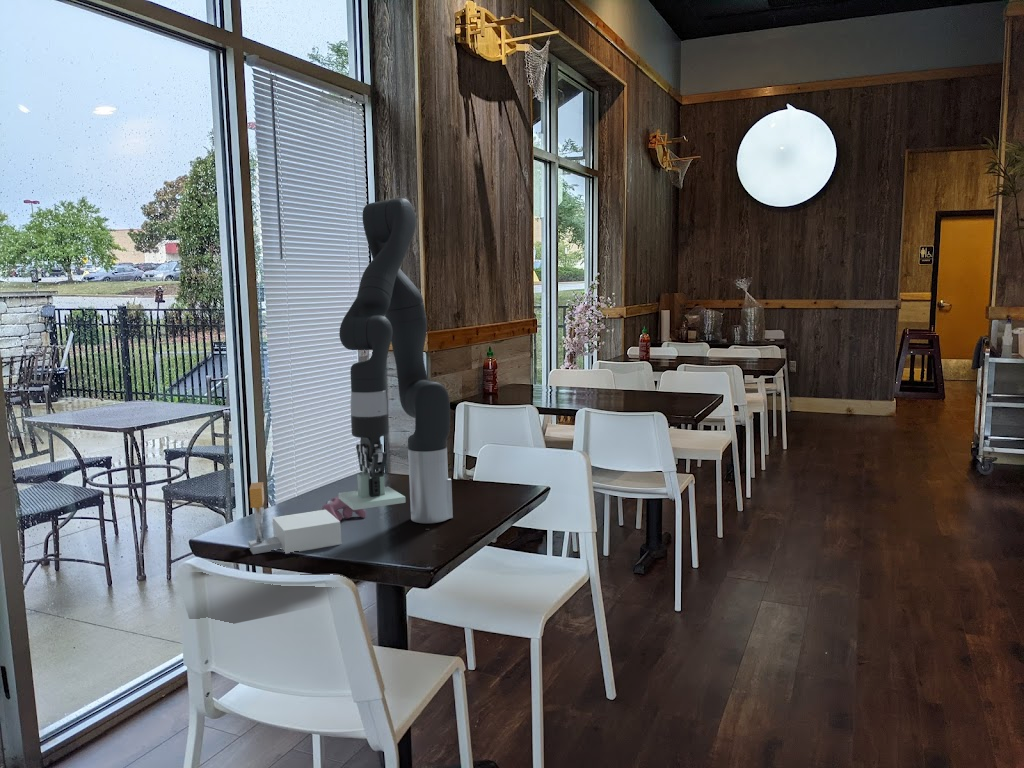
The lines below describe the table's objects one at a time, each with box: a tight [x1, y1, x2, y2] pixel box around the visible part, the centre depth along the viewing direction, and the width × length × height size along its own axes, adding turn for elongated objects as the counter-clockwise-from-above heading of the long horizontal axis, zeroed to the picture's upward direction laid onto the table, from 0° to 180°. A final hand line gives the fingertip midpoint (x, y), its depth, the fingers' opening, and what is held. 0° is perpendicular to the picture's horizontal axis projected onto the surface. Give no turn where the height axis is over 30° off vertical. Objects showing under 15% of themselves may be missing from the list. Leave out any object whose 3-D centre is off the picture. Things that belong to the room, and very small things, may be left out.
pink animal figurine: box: [321, 496, 367, 522], centre depth 194 cm, size 10×5×7 cm, turn 142°
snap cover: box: [338, 472, 407, 510], centre depth 168 cm, size 11×11×6 cm
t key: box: [249, 481, 265, 542], centre depth 174 cm, size 9×2×12 cm, turn 14°
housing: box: [248, 509, 342, 555], centre depth 176 cm, size 18×12×5 cm, turn 118°
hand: (372, 494), depth 168 cm, fingers closed on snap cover, 2 cm apart
